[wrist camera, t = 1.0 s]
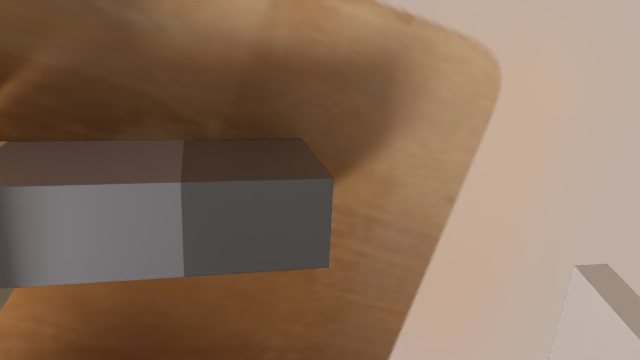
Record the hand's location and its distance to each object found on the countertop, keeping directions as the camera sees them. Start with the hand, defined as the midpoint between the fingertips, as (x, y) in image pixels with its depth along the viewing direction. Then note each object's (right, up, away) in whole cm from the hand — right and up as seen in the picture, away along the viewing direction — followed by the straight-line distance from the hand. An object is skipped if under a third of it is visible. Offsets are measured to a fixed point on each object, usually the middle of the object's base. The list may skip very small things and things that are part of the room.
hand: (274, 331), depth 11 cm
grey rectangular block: (-8, +3, +15) cm, 18 cm away
